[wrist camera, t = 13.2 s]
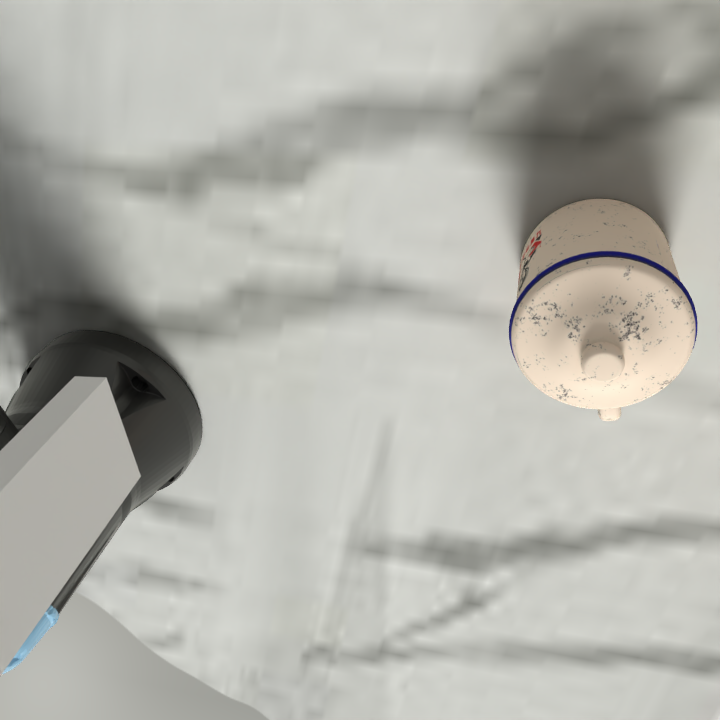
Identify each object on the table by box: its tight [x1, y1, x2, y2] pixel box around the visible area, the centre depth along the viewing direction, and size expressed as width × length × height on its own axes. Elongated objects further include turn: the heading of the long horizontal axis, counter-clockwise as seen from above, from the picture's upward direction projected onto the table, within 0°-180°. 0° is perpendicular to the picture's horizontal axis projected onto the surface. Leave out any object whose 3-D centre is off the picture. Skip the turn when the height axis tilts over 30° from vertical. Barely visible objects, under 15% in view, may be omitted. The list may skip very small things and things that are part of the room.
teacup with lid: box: [509, 199, 697, 421], centre depth 38 cm, size 12×9×12 cm
